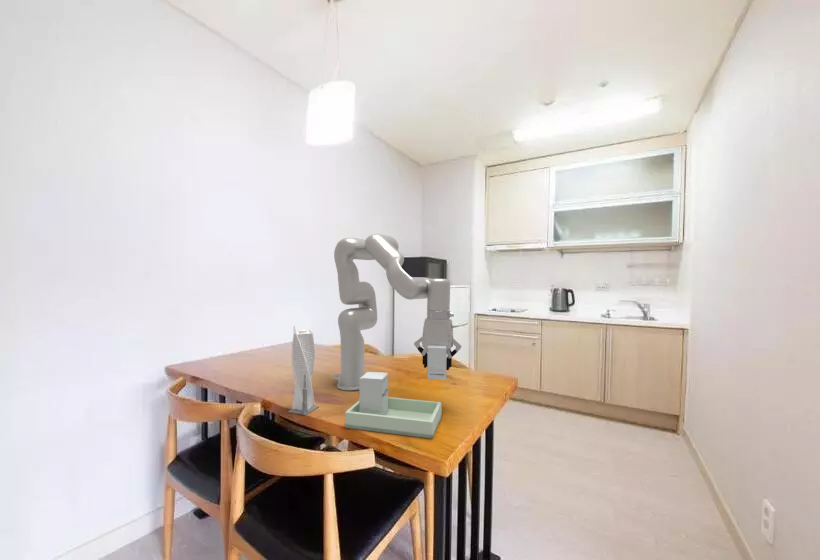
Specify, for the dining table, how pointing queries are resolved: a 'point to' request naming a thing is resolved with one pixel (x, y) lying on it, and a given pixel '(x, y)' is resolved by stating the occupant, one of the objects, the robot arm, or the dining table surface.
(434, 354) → the skincare box
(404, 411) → the tray
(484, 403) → the dining table surface
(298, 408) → the skyscraper
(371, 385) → the supplement box
